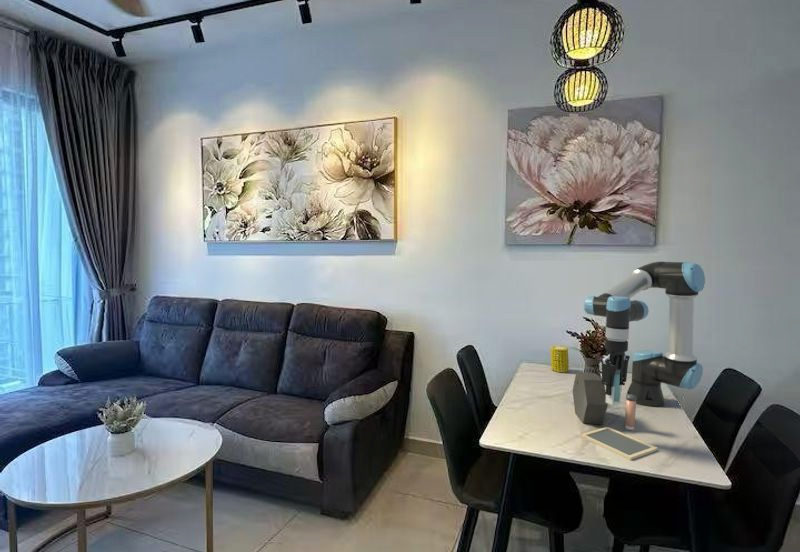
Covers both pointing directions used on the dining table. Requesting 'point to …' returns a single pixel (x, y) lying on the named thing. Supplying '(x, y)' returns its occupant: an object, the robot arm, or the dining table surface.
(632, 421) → the coral marker
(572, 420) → the dining table surface
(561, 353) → the food
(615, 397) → the teal marker
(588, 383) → the planter
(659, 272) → the robot arm
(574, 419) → the dining table surface
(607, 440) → the slate board
